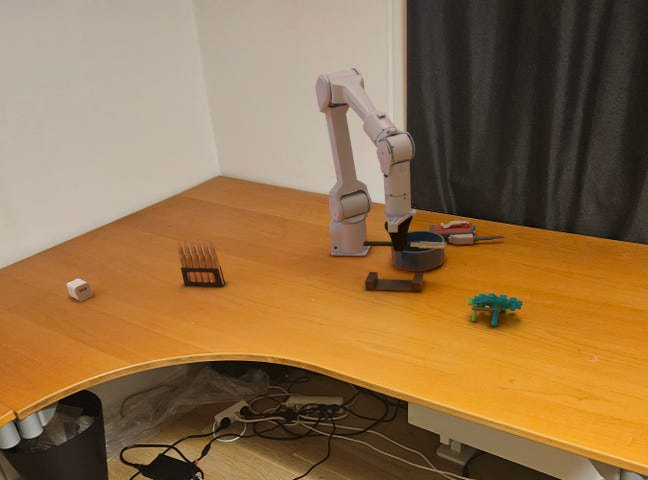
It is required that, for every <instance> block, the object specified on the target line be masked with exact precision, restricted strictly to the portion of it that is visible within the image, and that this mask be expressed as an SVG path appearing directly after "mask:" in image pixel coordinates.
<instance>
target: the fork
mask: <svg viewBox="0 0 648 480" xmlns="http://www.w3.org/2000/svg"><path fill="white" fill-rule="evenodd" d="M363 246H370V247H390V248H391V247H393V244H392V242H391V241H388V240H387V241H379V240H376V241H375V240H367V241H364V243H363ZM405 247H419V248H443V249H445V250H446V247H447V243H446V242H423V241H420V243H411V242H405Z"/></svg>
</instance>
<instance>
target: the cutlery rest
mask: <svg viewBox="0 0 648 480" xmlns="http://www.w3.org/2000/svg"><path fill="white" fill-rule="evenodd" d="M378 274H379V273H378V271H369V272H368V274H367V276H366V278H365V281H364V284H365V285H364V286H365V287H364V288H365V291H368V292H369V291H372V292H373V291H374V292H375V291H376V292H397V293H398V292H399V293H402V292H403V293H421V292H422V289H423V285H424V281H425V280H424V278H425V277H424V273H423V272H415V273H414V275H413V278H412V279H388V278H387V279H385V278H379V275H378Z"/></svg>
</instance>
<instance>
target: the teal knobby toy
mask: <svg viewBox="0 0 648 480" xmlns="http://www.w3.org/2000/svg"><path fill="white" fill-rule="evenodd" d="M507 297H508V295H507V294H499V296H498V295H496V293H494V292H490V293H488V294H485V293H479V294H478V295H474V296H473V298H472V297H469V298H468V301H467V305H468V306H471V311H472V317H471V321H472V322H476V320H477V319H476V318H477V313H478V312H489V313H490V312H491V313H492V312H493V314H492V319H491V326H492V327H497V325H498V318H499V313H500V312H507V310H509V311H512V312H514V311H516V310H521V309H522V307H523V302H524V301H522V300H518V298H517V297H514V296H511V297H509V298H507Z"/></svg>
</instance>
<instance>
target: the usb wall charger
mask: <svg viewBox="0 0 648 480" xmlns="http://www.w3.org/2000/svg"><path fill="white" fill-rule="evenodd" d="M66 288H67V291H68V293H69V296H70V297H72V298H73V299H75V300H77V301H79V302H83V301H85V300H88V299H90V298H91V297H93V295H94V294H93V293H94V292H93V290H92V288H91V285H90V282H87V281H85V280H83V279H82V278H76V279H73V280H71V281H68V282H67V283H66Z"/></svg>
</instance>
